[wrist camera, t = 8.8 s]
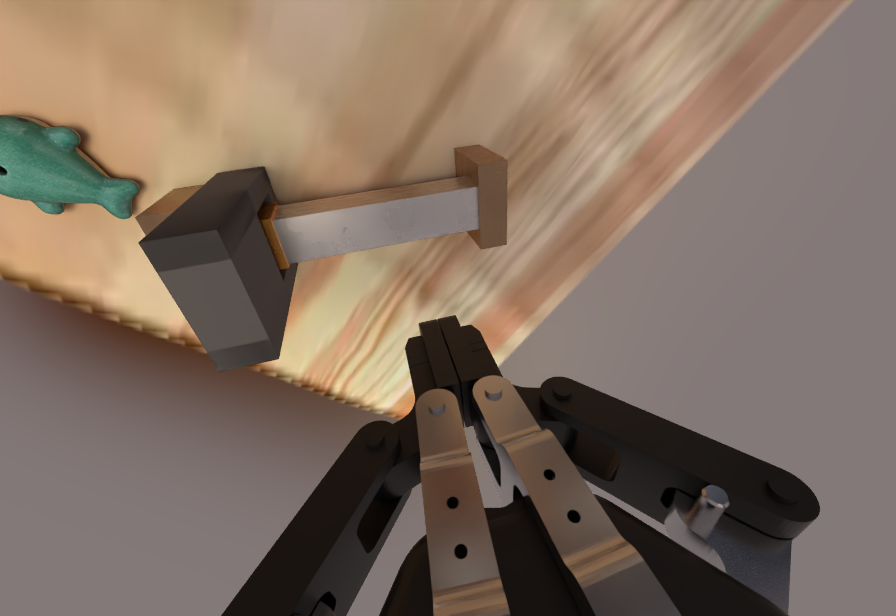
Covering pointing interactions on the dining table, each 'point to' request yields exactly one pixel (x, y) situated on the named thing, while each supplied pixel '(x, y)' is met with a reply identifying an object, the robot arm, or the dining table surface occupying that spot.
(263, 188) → the collar
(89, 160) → the whale figurine
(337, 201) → the grey bar with endplates
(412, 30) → the dining table surface
